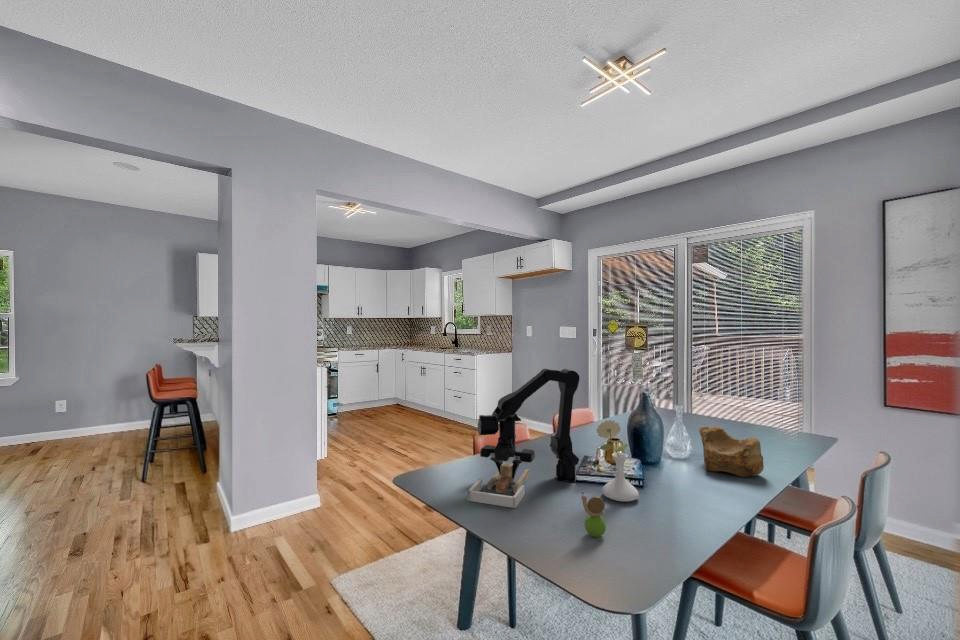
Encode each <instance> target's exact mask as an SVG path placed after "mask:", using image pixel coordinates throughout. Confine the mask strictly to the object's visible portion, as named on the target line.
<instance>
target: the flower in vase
mask: <svg viewBox="0 0 960 640" xmlns="http://www.w3.org/2000/svg"><path fill="white" fill-rule="evenodd" d="M595 431H596V433H597V436H598V437H600V438H603V439H610V443H611V444H602V445H601V446H600V447H599V448H598V449H599V450H603V451H610V450H611V449H612V448H613V450H614V452H613V453H611V457H612V458H613V459H614V461H615V467H616V470H615V471H616V474H615V477H614V478H613V479H612V480H610V481H609V482H607V483H606V484H605V485H604V486H603V487H602V489H601V493H602V494H603V495H604V496H605V497H607V498H608V499H610V500H614V501H615V502H616V501H617V502H624V503H625V502H633V501H635V500H637V499H638V498H639V496H640V493H639V491H638V489H637V488H636V487H635V486H634V485H632V484H631V483H630V482H629V481H628V480H627V479H626V478H625V472H624V471H625V463H626V460H627V458H628V457H629V454H628V453H623V451H625V450H626V449H627V447H628V443H625V444H621V445H618V447H617V449H616V448H615V446H614V445H613V437H617V436H618V434H619V433H620V432H621V431H622V430H621V426H620V423H619V422H616V421H615V420H611V419H609V420H604V421H602V422H601V423H600V424H598V425H597V428H596V429H595Z"/></svg>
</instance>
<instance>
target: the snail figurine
mask: <svg viewBox="0 0 960 640" xmlns="http://www.w3.org/2000/svg"><path fill="white" fill-rule="evenodd" d="M580 492H581V500H582V505H583V508H584V511H585V513H586V514H587V515H588V516H587V517H586V519H585V521H584V528H585V531H586V532H587V534H588V535H589V536H591V537H593V538H594V537H595V538H599V537H601V536H603V535H604V534H605V533H606V530H607V526H606V525H607V524H606V521H605V520H604V519H603V517H602V515H603V514H605V510H604V509H605V507H606V506H605V501H604V499H603V498H602V497H600V496H592V497H591V498H589V500H587V499H588V497H587V496H586V494H584V493H585V492H584V491H583V490H581V491H580Z"/></svg>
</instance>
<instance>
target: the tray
mask: <svg viewBox="0 0 960 640" xmlns="http://www.w3.org/2000/svg"><path fill="white" fill-rule="evenodd" d="M481 490H483V479H481V478H479V479H478V480H477V481H476V482H475V483H474V484H473V485H471V487H470V488H469V489H468V490H467V496H466V497H467V500H466V501H469V502H475V503H482V504H485V505H486V504H488V505H495V506H499V507H500V506H501V507H507V508H512V509H516V508H517V506H518V505H519V503H520V502H521V501H522V499H523V498H524V496H525V494H526V491H525V484H523V485H521V486H520V488H519V489H518V491H517V492H516V493H514V495H512V496H511V495H505V494H499V493H491V492H486V491H485V492H484V491H481Z"/></svg>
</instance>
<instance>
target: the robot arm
mask: <svg viewBox="0 0 960 640" xmlns="http://www.w3.org/2000/svg"><path fill="white" fill-rule="evenodd" d="M580 380H581V379H580V375H579V374H578V372H576V371H575V370H571V369H568V368H563V369H561V370H557V369H549V368H543V369H541V370H540V372H538V373H537V374H536V375H534V376H533V377H532V378H531V379H530V380H528V381H527V382H525V383H524V384H523V385H522V386H520V388H518V389H517V390H515V391H514V392H511V393H508V394H505V395H504V396H503V397H501V398H500V399H499V400H498V402H497V406H496V408H495V409H494V410H493V412H492V414H489V415H488V414H487V415H484V414H480V415H479V416H478V419H477V420H478V421H477V432H478V435H479V436H490V435H491V436H493V435H496V434H498V433H499V434H498V438H497V444H496V445H491V444H490V445H489V444H486V445H484V446H483V447H481V449H480V450H479V451H480V452H479V455H480V457H481V458H489V459H490V461H493V462H494V463H495V466H496V468H497V472H498V471H499V474H500V466H501V465H502V464H503V463H504V462H507V461H508V460H510V458H514V459H513V460H512V462H511V463H513V471H512V479H514V477H516V474H517V471H518V468H519V466H520V464H522V462H523V463H532V462H533V461H534V459H535V457H536V453H535V450H534V449H528V448H524V449H522V450H521V451H516V450H517V446H516V438H517V434H516V422H521V421H522V418H520V417H519V416H518V414H517V413H516V412H518V410H519V409H520V408H521V407H522V405H523V403H524V402H525V401H526V400H527V399H528V398H530V397H531V396H532V395H533V394H535V393H536V392H537V391H538V390H539V389H541V388H542V387H544V385H546V384H547V383H549V381H550V382H557V385H558V389H559V392H560V395H559V396H560V397H559V404H558V405H559V407H558V415H557V416H558V417H557V428H556V433H555V435H550V444H549V448H550V450H551V452H552V453H553V455H555V458H556V459H558V460H557V463H556V465H555V467H556V468H555V475H556V480H557V481H561V482H562V481H563V482H571V483H575V482H576V480H577V478H576V479H575V477H576V475H577V465H578V464H579V462H580V458H579V457H578V456H577V455H576V454H574V450H573V441H572V438H571V427H572V426H571V424H572V415H573V414H572V413H573V405H574V404H573V403H574V402H573V401H574V395H575V394H576V392H577V389H578V388H579V382H580Z"/></svg>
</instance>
